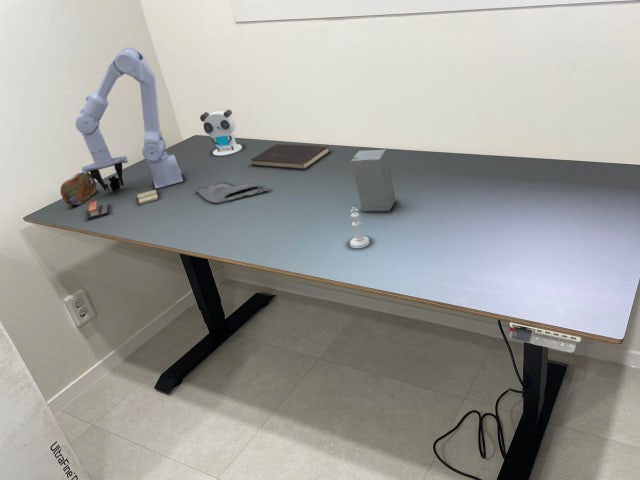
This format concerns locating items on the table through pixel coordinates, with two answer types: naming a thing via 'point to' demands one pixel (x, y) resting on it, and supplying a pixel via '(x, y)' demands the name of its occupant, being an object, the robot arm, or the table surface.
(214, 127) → the panda figurine
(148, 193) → the napkin
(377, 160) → the cosmetic box
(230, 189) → the cloth
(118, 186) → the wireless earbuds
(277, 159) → the hardcover book
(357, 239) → the chess piece
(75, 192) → the tin
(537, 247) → the table surface
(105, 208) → the sushi plate
